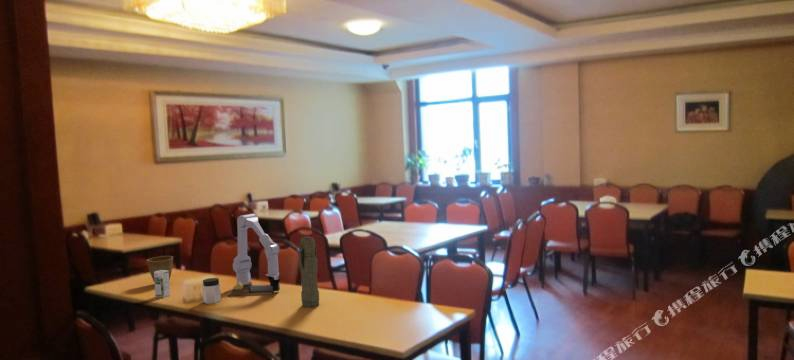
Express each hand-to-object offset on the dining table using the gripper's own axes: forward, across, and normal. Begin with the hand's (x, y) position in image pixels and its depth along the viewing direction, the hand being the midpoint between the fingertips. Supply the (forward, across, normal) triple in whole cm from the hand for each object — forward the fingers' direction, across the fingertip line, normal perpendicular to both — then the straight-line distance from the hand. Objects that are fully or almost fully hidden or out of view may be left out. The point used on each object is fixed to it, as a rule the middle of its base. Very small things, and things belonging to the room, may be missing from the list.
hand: (274, 289), depth 326 cm
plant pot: (+2, -58, -58) cm, 81 cm away
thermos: (+2, +36, +11) cm, 37 cm away
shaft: (0, -3, -6) cm, 7 cm away
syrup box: (+2, -26, -58) cm, 63 cm away
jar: (+2, +1, -34) cm, 34 cm away
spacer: (-1, -8, -17) cm, 19 cm away
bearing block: (+1, -5, -12) cm, 13 cm away
